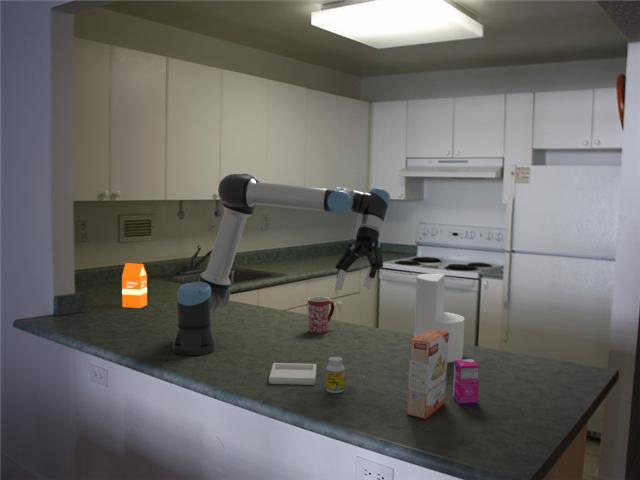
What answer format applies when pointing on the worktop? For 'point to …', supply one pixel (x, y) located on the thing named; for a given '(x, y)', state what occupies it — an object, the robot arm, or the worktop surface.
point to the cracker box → (427, 373)
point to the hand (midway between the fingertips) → (351, 287)
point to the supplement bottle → (335, 375)
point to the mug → (319, 314)
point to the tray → (293, 374)
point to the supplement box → (466, 382)
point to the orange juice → (134, 286)
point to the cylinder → (437, 313)
